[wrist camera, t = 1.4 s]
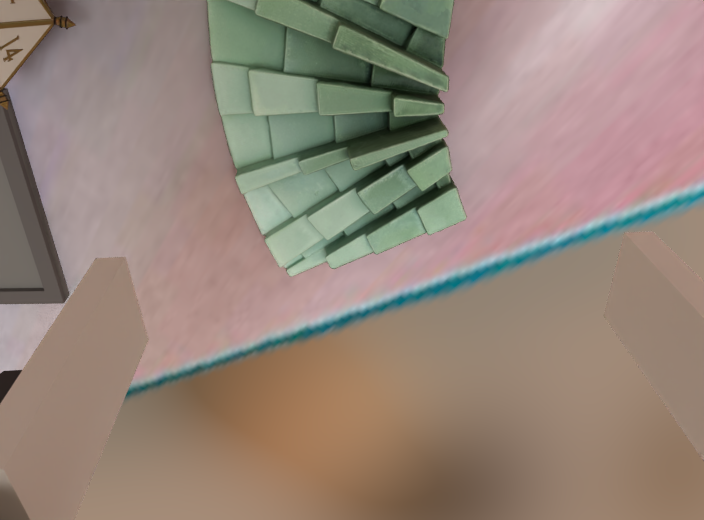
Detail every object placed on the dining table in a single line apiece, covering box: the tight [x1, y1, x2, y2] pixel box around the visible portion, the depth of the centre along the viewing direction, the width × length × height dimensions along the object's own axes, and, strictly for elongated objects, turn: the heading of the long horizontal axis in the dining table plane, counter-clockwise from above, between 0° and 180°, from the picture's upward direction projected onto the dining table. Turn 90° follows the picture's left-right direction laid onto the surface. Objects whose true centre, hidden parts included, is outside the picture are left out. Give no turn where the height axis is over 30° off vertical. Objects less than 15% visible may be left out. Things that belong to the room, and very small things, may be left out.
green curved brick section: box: [207, 0, 467, 277], centre depth 31 cm, size 20×16×5 cm
